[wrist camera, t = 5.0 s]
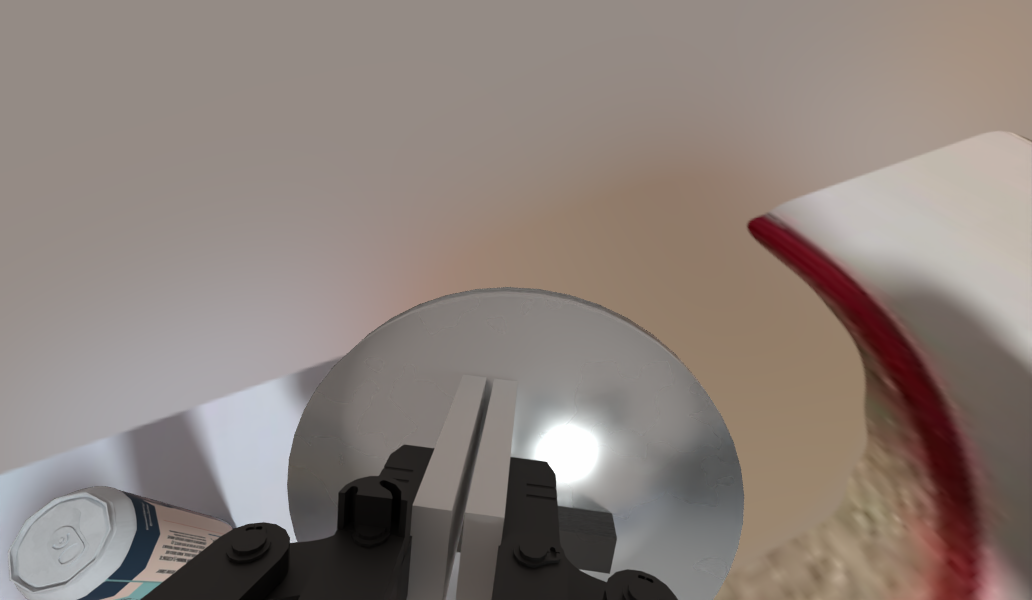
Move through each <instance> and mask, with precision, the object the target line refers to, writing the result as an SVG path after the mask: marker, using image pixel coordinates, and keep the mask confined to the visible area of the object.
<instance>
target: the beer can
mask: <svg viewBox="0 0 1032 600" xmlns="http://www.w3.org/2000/svg"><path fill="white" fill-rule="evenodd" d="M232 529H233V528H232V527H231V526H230V525H229V524H228V523H227V522H226V521H224V520H222V519H219V518H215V517H211V516H208V515H204V514H201V513H197V512H194V511H190V510H187V509H183V508H180V507H176V506H173V505H169V504H166V503H162V502H159V501H155V500H152V499H148V498H145V497H141V496H138V495H134V494H131V493H127V492H124V491H120V490H117V489H115V488H111V487H104V486H95V487H90V488H85V489H81V490H78V491H75V492H72V493H70V494H67V495H65V496H62V497H58V498H55V499H53V500H52V501H51V502H49V503H48V504H47V505H45V506H44V507H43V508H41V509H40V510H39V511H38V512H36V513H35V514H34V515H32V516H31V517H30V518H28V519H27V520H26V521H25V523H24V524H23V526H22V528H21V530H20V531H19V533H18V535H17V537H16V538H15V540H14V542H13V544H12V545H11V547H10V549H9V551H8V562H9V576H10V581H11V582H13V583H14V584H15V586H16V587H17V589H18V590H19V591H20V592H21V593H22V594H23V595H24V596H25V597H26V599H28V600H140V599H142V598H143V597H144V596H145V595H147V594H148V593H149V592H150V591H152V590H153V589H154V588H156V587H157V586H158V585H159V584H161V583H162V582H163V581H164V580H166V579H167V578H168V577H170V576H171V575H172V574H173V573H175V572H176V571H177V570H178V569H180V568H181V567H182V566H184V565H185V564H186V563H187V562H189V561H190V560H191V559H192V558H194V557H195V556H196V555H198V554H199V553H200V552H201V551H203V550H204V549H205V548H206V547H208V546H209V545H210V544H212V543H213V542H214V541H215V540H217V539H218V538H219V537H221V536H222V535H224V534H226V533H227V532H229V531H231V530H232Z"/></svg>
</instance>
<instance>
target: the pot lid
mask: <svg viewBox="0 0 1032 600" xmlns="http://www.w3.org/2000/svg"><path fill="white" fill-rule="evenodd" d="M463 375H471V376H479V377H487V379H486V388H485V396H484V405H483V414H482V423H481V432H480V441H479V447H480V442H481V438H482V433H483V428H484V424H485V419H486V415H487V410H488V406H489V401H490V397H491V392H492V388H493V383H494V379H502V380H510V381H518V385H517V395H516V405H515V415H514V425H513V436H512V446H511V456H510V457H516V458H523V459H531V460H539V461H546V462H548V464H549V465H550V467H551V468H552V469H553V471H554V472H555V474H556V490H557V503H558V518H559V534H560V544H561V547H562V549H563V550H564V553H565V557H566V558H567V559H568V560H569V561H570V562H571V563H572V565H574V566H575V567H576V568H578V569H579V570H580V571H582V572H584V573H586V574H588V575H590V576H592V577H595V578H597V579H600V580H602V581H605V582H607V581H608V578H609V577H611V576H612V575H613V574H614V573H615V572H618V571H622V570H626V569H630V570H638V571H643V572H645V573H648V574H650V575H653V576H655V577H656V578H658V579H659V580H660V581H662V582H663V583H665V584H666V585H667V586H668V587H669V588H670V590H671V591H672V592H673V593H674V594H675V596H676V597H677V599H678V600H713V599H714V597H715V596H716V595H717V593H718V591H719V589H720V587H721V586H722V584H723V582H724V580H725V578H726V577H727V575H728V573H729V570H730V568H731V565H732V562H733V560H734V557H735V554H736V551H737V549H738V544H739V540H740V535H741V530H742V525H743V510H744V491H743V482H742V474H741V467H740V464H739V460H738V457H737V453H736V450H735V446H734V442H733V440H732V438H731V436H730V433H729V431H728V429H727V427H726V424H725V423H724V420H723V418H722V416H721V414H720V413H719V411H718V410H717V408H716V406H715V405H714V403H713V402H712V400H711V399H710V397H709V396H708V394H707V393H706V391H705V390H704V389H703V387H702V386H701V384H700V383H699V381H698V380H697V379H696V377H695V376H694V375H693V374H692V373H691V372H690V370H689V369H688V368H687V367H686V366H685V365H684V363H683V362H682V361H681V360H680V359H679V358H678V357H677V355H676V354H675V353H674V352H672V351H671V350H670V349H669V348H668V347H667V346H665V345H664V344H663V343H662V342H661V341H660V340H659V339H657V338H656V337H655V336H654V335H653V334H651V333H650V332H648V331H647V330H645V329H643V328H642V327H640V326H639V325H637V324H636V323H634V322H633V321H631V320H630V319H628V318H626V317H624V316H622V315H620V314H618V313H616V312H614V311H612V310H610V309H607V308H605V307H603V306H601V305H598V304H596V303H593V302H590V301H586V300H584V299H580V298H577V297H574V296H571V295H567V294H562V293H557V292H551V291H546V290H541V289H529V288H511V287H503V288H487V289H475V290H471V291H465V292H460V293H455V294H450V295H446V296H443V297H440V298H437V299H434V300H431V301H428V302H425V303H422V304H419V305H417V306H415V307H413V308H411V309H409V310H407V311H405V312H403V313H401V314H399V315H397V316H395V317H393V318H391V319H390V320H388V321H387V322H386V323H384V324H383V325H381V326H380V327H378V328H377V329H375V330H374V331H372V332H371V333H369V335H367V336H366V337H365V338H364V339H363V340H362V341H361V342H360V343H359V344H358V345H356V346H355V347H354V348H353V349H352V350H351V351H350V352H349V353H348V354H347V355H346V356H344V357H343V358H342V359H341V360H340V361H339V362H338V363H337V364H336V365H335V366H334V367H333V368H332V370H331V371H330V372H329V373H328V375H327V376H326V377H325V378H324V380H323V381H322V382H321V383H320V385H319V386H318V387H317V389H316V391H315V392H314V394H313V396H312V397H311V399H310V401H309V403H308V404H307V406H306V408H305V409H304V412H303V414H302V417H301V419H300V422H299V424H298V427H297V430H296V432H295V435H294V439H293V444H292V448H291V453H290V457H289V466H288V481H287V489H288V501H289V511H290V515H291V520H292V524H293V528H294V533H295V536H296V539H297V541H298V542H305V541H314V540H319V539H324V538H327V537H330V536H333V535H334V534H335V532H336V531H337V519H338V492H339V491H340V490H341V489H342V488H343V487H344V486H345V485H346V484H348V483H350V482H352V481H354V480H356V479H359V478H363V477H368V476H379V475H380V473H381V471H382V469H384V465H385V464H386V462H387V460H388V458H389V456H390V454H391V453H393V452H394V451H396V450H397V449H398V448H400V447H401V446H403V445H404V444H405V445H413V446H421V447H428V448H435V446H436V444H437V441H438V438H439V436H440V433H441V431H442V428H443V426H444V423H445V420H446V418H447V415H448V413H449V410H450V408H451V405H452V402H453V400H454V397H455V395H456V392H457V390H458V387H459V384H460V382H461V379H462V377H463ZM478 451H479V450H478ZM464 517H465V515H464ZM463 526H464V519H463V524H462V529H461V533H460V538H459V542H458V547H457V551H456V556H455V560H454V565H453V570H452V574H451V579H450V583H449V588H448V592H447V597H446V600H456V590H457V581H458V572H459V563H460V554H461V545H462V535H463Z"/></svg>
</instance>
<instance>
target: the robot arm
mask: <svg viewBox="0 0 1032 600" xmlns="http://www.w3.org/2000/svg"><path fill="white" fill-rule="evenodd" d="M486 379H487V377H479V376H471V375H463V377H462V379H461V382H460V384H459V387H458V390H457V392H456V395H455V397H454V400H453V402H452V405H451V408H450V410H449V413H448V415H447V418H446V420H445V423H444V426H443V428H442V431H441V433H440V436H439V438H438V441H437V444H436V446H435V448H428V447H421V446H413V445H405V444H404V445H403V446H401V447H400V448H398V449H397V450H396V451H394V452H393V453H391V454H390V456H389V458H388V460H387V462H386V464H385V465H384V469H382V471H381V473H380V475H379V476H368V477H363V478H359V479H356V480H354V481H352V482H350V483H348V484H346V485H345V486H344V487H343V488H342V489H341V490H340V491H339V492H338V519H337V531H336V532H335V534H334V535H333V536H330V537H327V538H324V539H319V540H314V541H305V542H296V543H290V537H289V536H288V534H287V532H286V530H285V529H283V528H281V527H280V526H278V525H276V524H270V523H264V522H263V523H254V524H247V525H244V526H241V527H238V528H235V529H232V530H231V531H229V532H227V533H226V534H224V535H222V536H221V537H219V538H218V539H217V540H215V541H214V542H213V543H212V544H210V545H209V546H208V547H206V548H205V549H204V550H203V551H201V552H200V553H199V554H198V555H196V556H195V557H194V558H192V559H191V560H190V561H189V562H187V563H186V564H185V565H184V566H182V567H181V568H180V569H178V570H177V571H176V572H175V573H173V574H172V575H171V576H170V577H168V578H167V579H166V580H164V581H163V582H162V583H161V584H159V585H158V586H157V587H156V588H154V589H153V590H152V591H150V592H149V593H148V594H147V595H145V596H144V597H143V598H142V599H140V600H446V597H447V592H448V588H449V583H450V579H451V574H452V570H453V565H454V560H455V556H456V551H457V547H458V542H459V538H460V533H461V529H462V524H463V519H464V526H463V535H462V545H461V554H460V563H459V572H458V581H457V590H456V600H678V599H677V597H676V596H675V594H674V593H673V592H672V591H671V590H670V588H669V587H668V586H667V585H666V584H665V583H663V582H662V581H660V580H659V579H658V578H656V577H655V576H653V575H650V574H648V573H645V572H643V571H638V570H630V569H626V570H622V571H618V572H615V573H614V574H613V575H612V576H611V577H609V578H608V581H607V582H605V581H602V580H600V579H597V578H595V577H592V576H590V575H588V574H586V573H584V572H582V571H580V570H579V569H578V568H576V567H575V566H574V565H572V563H571V562H570V561H569V560H568V559H567V558H566V557H565V553H564V550H563V549H562V547H561V544H560V534H559V518H558V503H557V490H556V474H555V472H554V471H553V469H552V468H551V467H550V465H549V464H548V462H546V461H539V460H531V459H523V458H516V457H510V456H511V446H512V436H513V425H514V415H515V405H516V395H517V385H518V381H510V380H502V379H494V383H493V388H492V392H491V397H490V401H489V406H488V410H487V415H486V419H485V424H484V428H483V433H482V438H481V442H480V447H479V441H480V432H481V423H482V414H483V405H484V396H485V388H486ZM478 450H479V451H478ZM464 515H465V517H464Z"/></svg>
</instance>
